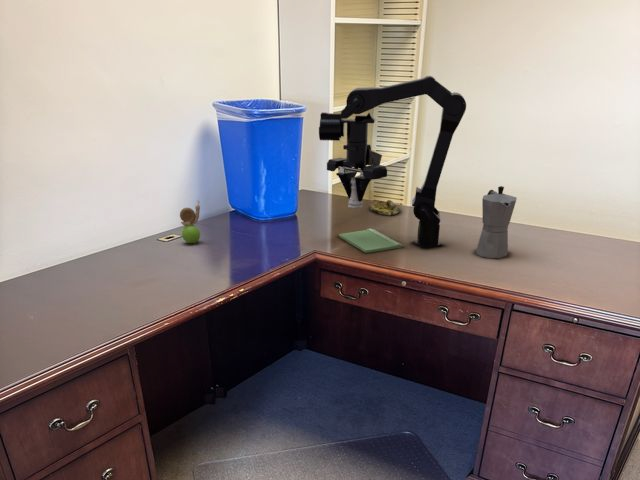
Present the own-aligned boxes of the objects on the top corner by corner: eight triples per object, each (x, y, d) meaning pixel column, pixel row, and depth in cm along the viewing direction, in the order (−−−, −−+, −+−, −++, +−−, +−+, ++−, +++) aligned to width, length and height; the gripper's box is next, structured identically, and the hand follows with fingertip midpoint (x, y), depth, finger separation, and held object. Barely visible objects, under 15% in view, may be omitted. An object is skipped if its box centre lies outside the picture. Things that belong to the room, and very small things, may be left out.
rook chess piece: (345, 206, 174) (345, 177, 170) (359, 204, 176) (360, 176, 171) (351, 209, 171) (351, 180, 166) (365, 208, 172) (366, 179, 168)
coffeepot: (515, 260, 163) (527, 191, 153) (482, 261, 163) (491, 192, 153) (497, 243, 176) (507, 178, 166) (466, 244, 176) (474, 179, 166)
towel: (402, 247, 174) (402, 243, 174) (365, 253, 170) (365, 249, 170) (373, 231, 188) (373, 228, 187) (338, 236, 184) (338, 233, 183)
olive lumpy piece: (365, 209, 215) (380, 219, 203) (364, 195, 212) (379, 205, 200) (389, 204, 216) (406, 213, 204) (388, 190, 214) (405, 199, 202)
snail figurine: (206, 244, 180) (201, 202, 173) (185, 246, 178) (179, 204, 171) (202, 239, 184) (197, 198, 177) (181, 241, 182) (175, 200, 175)
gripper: (402, 141, 162) (398, 201, 171) (353, 134, 174) (351, 190, 182) (374, 146, 156) (371, 208, 165) (325, 138, 167) (325, 196, 176)
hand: (355, 200), depth 172 cm, fingers closed on rook chess piece, 3 cm apart
